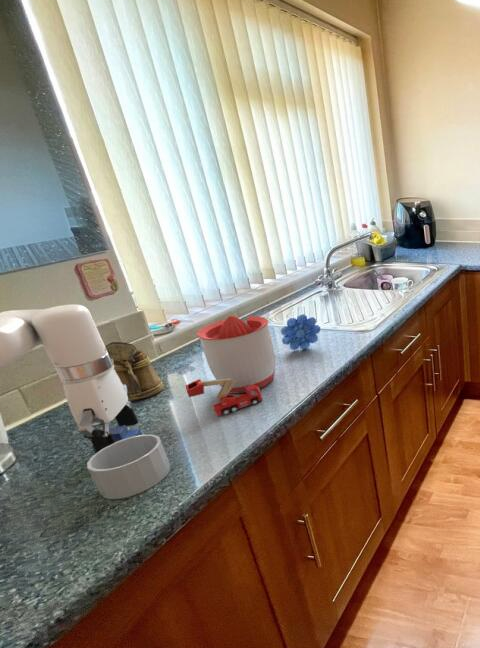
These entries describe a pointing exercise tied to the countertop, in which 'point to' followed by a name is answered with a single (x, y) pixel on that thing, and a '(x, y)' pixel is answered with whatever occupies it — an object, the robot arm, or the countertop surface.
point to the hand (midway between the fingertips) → (119, 438)
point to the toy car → (122, 433)
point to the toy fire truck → (226, 395)
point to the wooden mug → (134, 370)
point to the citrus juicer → (239, 351)
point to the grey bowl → (129, 466)
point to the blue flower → (300, 332)
